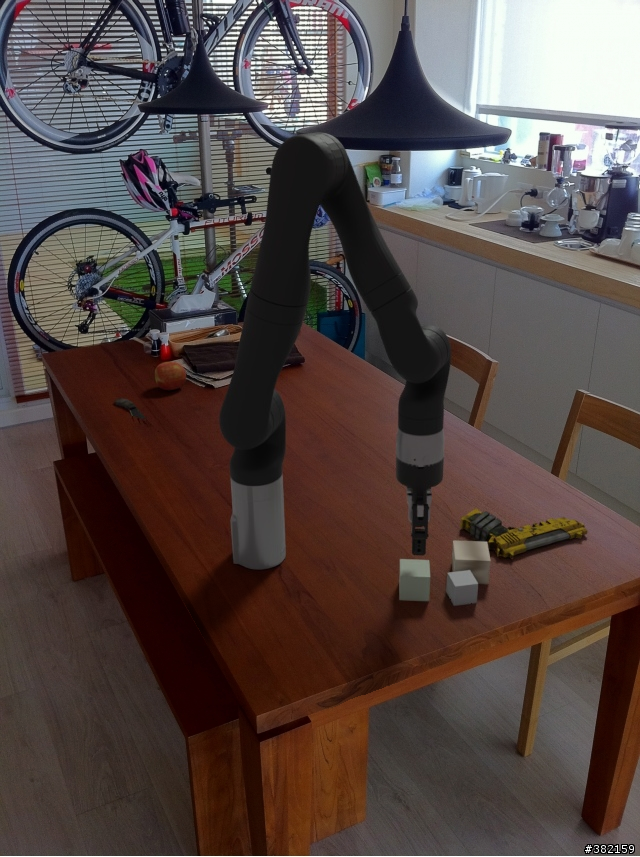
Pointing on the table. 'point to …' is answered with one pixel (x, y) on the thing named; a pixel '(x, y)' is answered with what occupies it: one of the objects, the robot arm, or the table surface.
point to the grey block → (462, 587)
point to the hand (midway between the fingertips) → (417, 539)
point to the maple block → (472, 559)
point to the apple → (170, 375)
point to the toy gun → (518, 532)
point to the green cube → (414, 580)
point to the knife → (129, 407)
